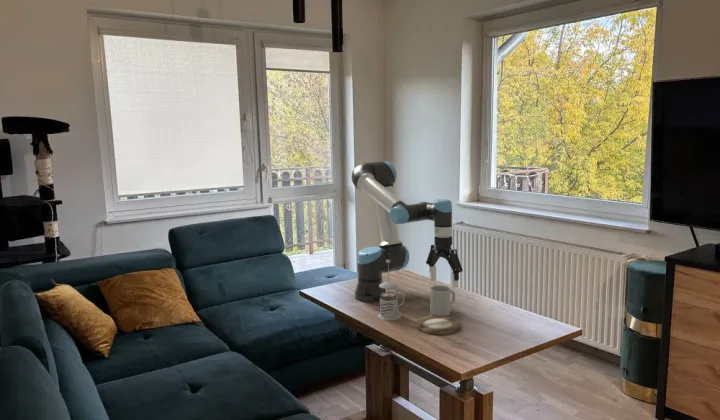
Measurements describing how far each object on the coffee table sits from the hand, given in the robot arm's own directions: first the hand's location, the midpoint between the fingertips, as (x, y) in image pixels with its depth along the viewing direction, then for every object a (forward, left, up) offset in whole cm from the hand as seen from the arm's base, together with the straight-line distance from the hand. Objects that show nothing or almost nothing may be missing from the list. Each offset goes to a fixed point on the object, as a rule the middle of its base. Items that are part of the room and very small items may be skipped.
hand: (443, 284), depth 226 cm
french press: (-10, -21, -13) cm, 27 cm away
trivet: (+11, -13, -13) cm, 21 cm away
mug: (0, 0, -13) cm, 13 cm away
